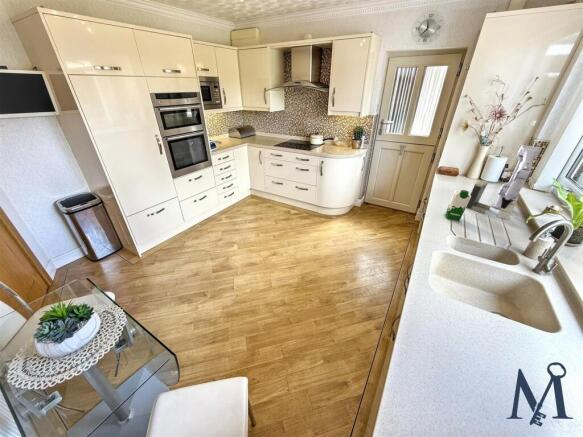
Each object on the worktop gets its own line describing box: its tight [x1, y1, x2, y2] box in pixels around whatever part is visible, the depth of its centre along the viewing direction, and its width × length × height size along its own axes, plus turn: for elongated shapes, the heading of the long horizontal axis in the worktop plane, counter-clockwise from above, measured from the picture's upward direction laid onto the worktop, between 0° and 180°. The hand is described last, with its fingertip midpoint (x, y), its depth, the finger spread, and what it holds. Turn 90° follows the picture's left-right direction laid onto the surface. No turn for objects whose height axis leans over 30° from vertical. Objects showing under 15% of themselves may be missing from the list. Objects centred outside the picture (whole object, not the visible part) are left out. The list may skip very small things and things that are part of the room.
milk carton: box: [445, 189, 471, 222], centre depth 150 cm, size 9×9×20 cm
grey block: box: [466, 179, 492, 214], centre depth 165 cm, size 14×12×18 cm
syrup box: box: [497, 197, 519, 220], centre depth 155 cm, size 6×6×14 cm
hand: (504, 206), depth 157 cm, fingers open, 7 cm apart
